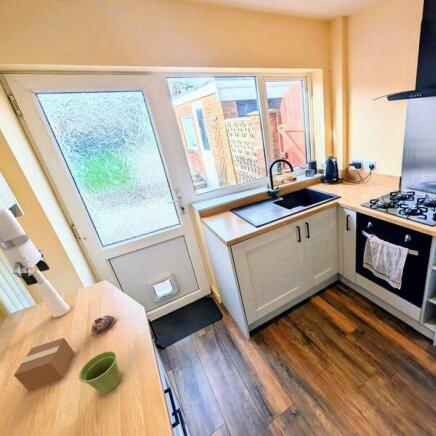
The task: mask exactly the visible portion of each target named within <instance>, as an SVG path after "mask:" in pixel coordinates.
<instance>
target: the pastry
mask: <svg viewBox="0 0 436 436" xmlns="http://www.w3.org/2000/svg"><path fill="white" fill-rule="evenodd" d="M115 323H116V318H115V316H112V315H109V314H107V315H106V314H105V315H104V316H101V317H97V318H96V319H94V321H93V323H92V325H91V333H92V334H93V335H100V334H103V333H105V332H107V331H109V330H110V329H111V328H112V327H113V326H114V325H115Z"/></svg>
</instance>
